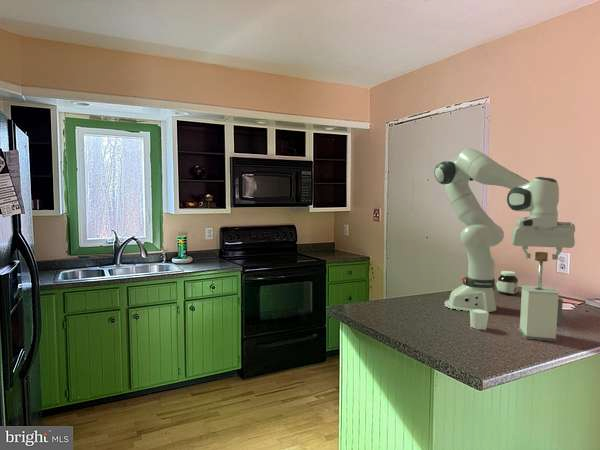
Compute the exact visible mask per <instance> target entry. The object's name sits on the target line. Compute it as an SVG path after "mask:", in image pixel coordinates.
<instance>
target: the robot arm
mask: <svg viewBox="0 0 600 450" xmlns="http://www.w3.org/2000/svg"><path fill="white" fill-rule="evenodd" d="M434 168H435V169H434V177H435V180H436V182H438V183H439V184H440V185H445V187H444V189H445V193H446V196H447V198H448V201H449V203H450V205H451V207H452V209H453V211H454V213H455V214H456V216H457V219H458V220H459V221H460V222H462V223H463V224H464V225H465V226H466V227H465V228H463V229H462V230H461V233H460V242H461V244H462V245H463V246H464V248H465V251H466V254H467V262H468V263H467V265H468V267H467V276H464V275H462V276H461V277H460V278H461V280H462V284H461V285H459V286H458V287H456V288H455V289H453V290H452V291H451V293H450V295H449V299H446V300H445V301H444V304H445V305H444V307H445V306H446V307H448V308H450V309H449V310H452V309H456V310H455V311H460V310H463V311H462V312H468V311H469V313H470V309H482V310H486V311H488V312H489V313H490V312H491V313H492V312H495V311H497V309H498V308H497V305H496V299H495V289H496V279H495V265H496V264H495V260H494V259H493V257H492V255H491V248H492V247H495V246H497V245H499V244H500V243H502V242H503V240H504V237H505V232H504V229H503V228H502V227H501V226H499V225H498V224H496V223H495V222H494V220H493V219H492V218H491V217H490V216H489V215H488V214H487V213H486V211H485V210H484V209H483V207H482V206H481V204H480V203H479V201H478V199H477V197H476V196H475V194H474V192H473V191H472V189H471V187H470V185H469V181H471V182H472V181H473V182H474V181H475V182H477V183H479V184H481V185H488V186H498V187H502V188H507V189H509V191H508V193H507V195H506V196H507V197H506V203H507V205H508V207H509V208H510V210H512V211H515V212H529V216H526V217H521V218H518V219H516V220H515V227H514V228H513V230H512V233H511V240H510V241H511V244H512V245H513V246H515V247H522V251H523V252H524V254H525V255H524V258H525V259H531V258H532V257H531V256H532V253H530V252H528V248H529V247H533V248H534V247H536V248H537V247H539V248H555V250H556V252H555V253H552V254H551V256H552V257H551V259H552V260H556V261H557V260H559V255H560V254H561V253H562V251H563V248H565V249H569V248H574V247H575V243H576V242H575V232H576V225H575V224H574V223H572V222H570V221H567V222H566V221H565V222H564V221H558V220H559V219H558V218H559V217H558V216H559V212H558V204H559V200H560V186H559V183H558V181H557V180H556V179H555V178H552V177H544V176H536V177H533V178H532V179H531V181H530V180H528V179H526V178H524V177H522V176H520V175H518V174H517V173H515V172H513V171H511V170H510V169H508V168H506V167H504V166H503V165H501V164H500V163H498V162H497V161H495V160H494V159H493V158H492V157H490V156H488V155H487V154H485V153H483V152H481V151H479V150H476V149H474V148H465V149H463V150H462V151H461V152H459V154H458V156H457V157H453V158H451V159H448V160H446V161H442V162H440V163H438V164H436V165H435V167H434ZM446 307H445V308H446ZM448 308H447V309H448Z"/></svg>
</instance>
